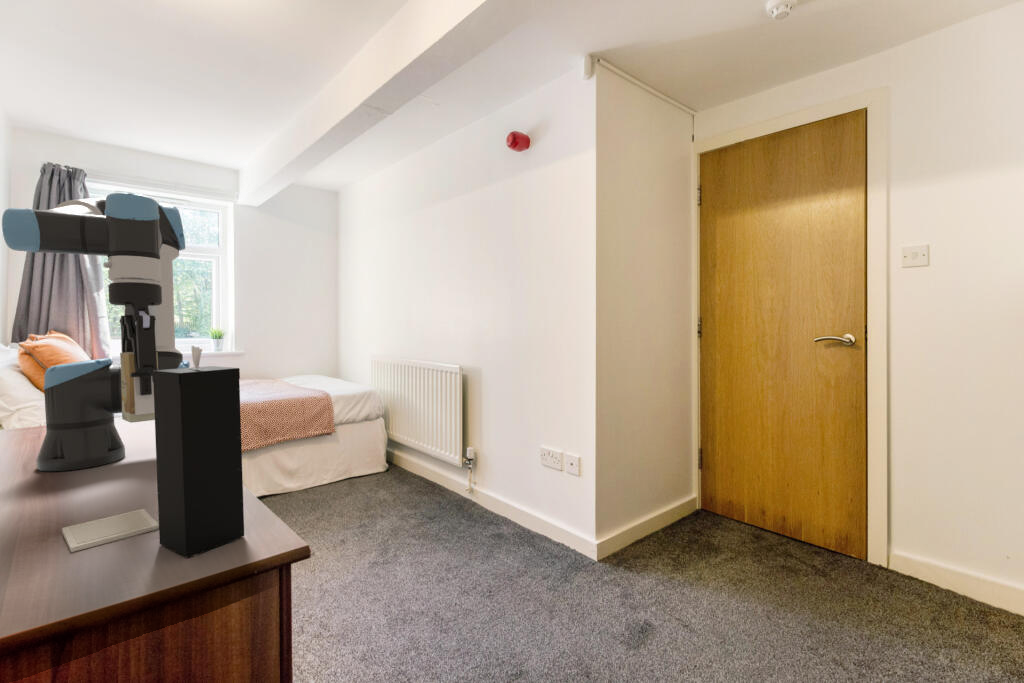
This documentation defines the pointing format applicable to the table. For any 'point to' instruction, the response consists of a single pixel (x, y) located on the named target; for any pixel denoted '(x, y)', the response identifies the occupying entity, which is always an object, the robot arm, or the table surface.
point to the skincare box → (130, 390)
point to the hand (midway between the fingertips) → (140, 411)
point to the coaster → (108, 529)
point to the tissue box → (198, 456)
